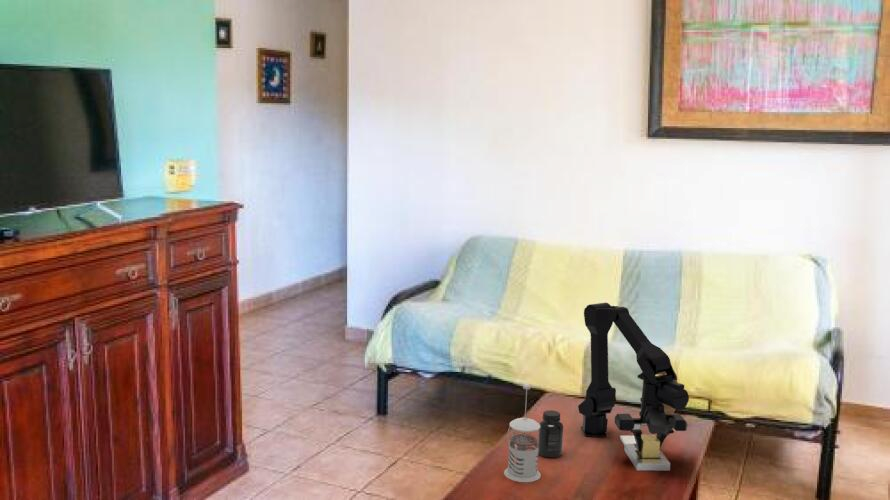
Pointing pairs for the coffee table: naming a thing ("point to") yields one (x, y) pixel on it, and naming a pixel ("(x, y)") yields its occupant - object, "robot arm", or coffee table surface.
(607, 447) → the coffee table surface
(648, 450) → the brass metal cube
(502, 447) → the coffee table surface
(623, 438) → the coaster
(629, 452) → the white flat frame
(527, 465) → the french press
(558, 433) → the supplement bottle
